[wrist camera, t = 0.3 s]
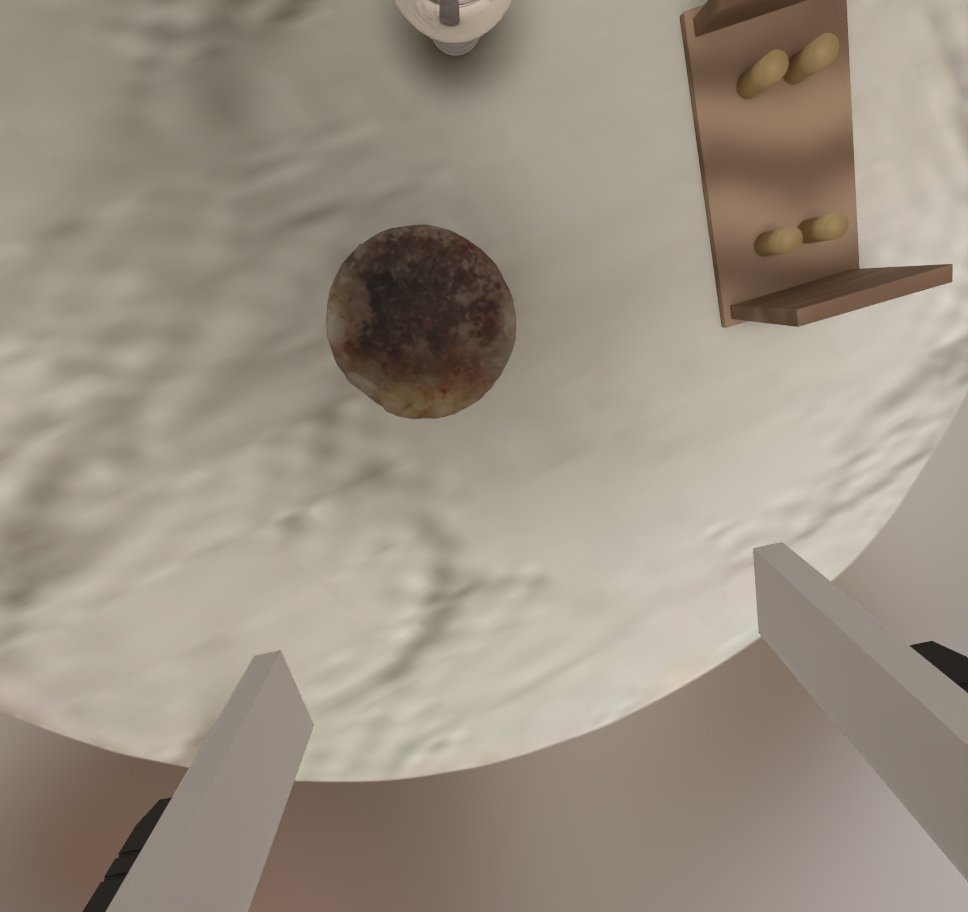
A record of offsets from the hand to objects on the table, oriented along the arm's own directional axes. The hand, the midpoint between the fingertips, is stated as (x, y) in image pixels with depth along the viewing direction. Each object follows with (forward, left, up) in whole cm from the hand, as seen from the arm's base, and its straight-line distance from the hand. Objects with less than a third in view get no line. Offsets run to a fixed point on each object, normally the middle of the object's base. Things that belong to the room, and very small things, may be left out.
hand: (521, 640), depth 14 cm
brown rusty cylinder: (-8, -1, -28) cm, 29 cm away
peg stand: (-11, +24, -27) cm, 38 cm away
